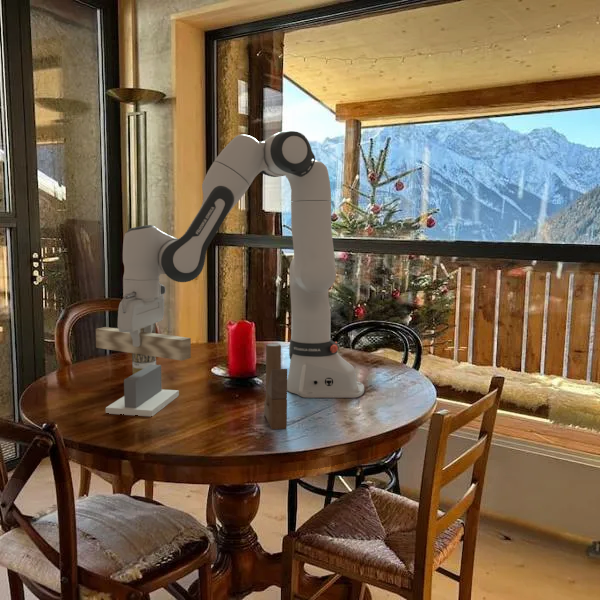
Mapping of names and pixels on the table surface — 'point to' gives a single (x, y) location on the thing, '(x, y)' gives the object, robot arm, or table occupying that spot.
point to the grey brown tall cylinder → (142, 358)
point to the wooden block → (275, 388)
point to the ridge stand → (143, 394)
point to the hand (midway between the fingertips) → (142, 344)
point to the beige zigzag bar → (144, 343)
